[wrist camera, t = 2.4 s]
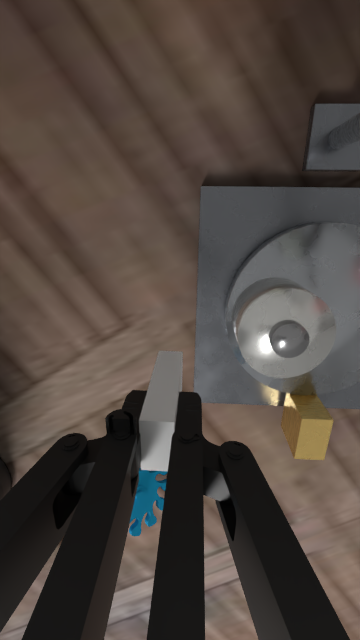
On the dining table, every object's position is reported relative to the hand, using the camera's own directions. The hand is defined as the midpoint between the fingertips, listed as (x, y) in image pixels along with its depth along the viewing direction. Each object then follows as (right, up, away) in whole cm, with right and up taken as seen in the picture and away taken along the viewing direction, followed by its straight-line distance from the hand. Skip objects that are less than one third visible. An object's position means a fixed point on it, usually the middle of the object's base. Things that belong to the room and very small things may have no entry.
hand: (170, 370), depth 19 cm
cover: (+10, +4, +10) cm, 15 cm away
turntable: (+14, +2, +13) cm, 19 cm away
